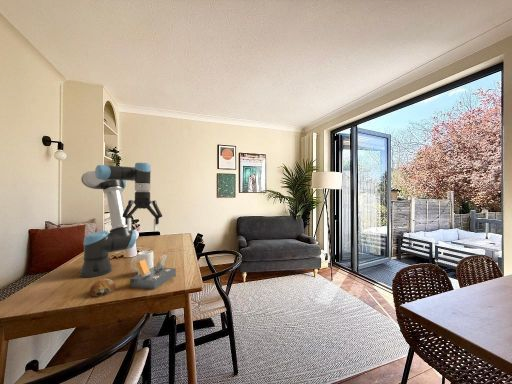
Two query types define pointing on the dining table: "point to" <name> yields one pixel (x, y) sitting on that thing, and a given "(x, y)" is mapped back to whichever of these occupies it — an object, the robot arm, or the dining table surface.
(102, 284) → the bread roll
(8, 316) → the dining table surface
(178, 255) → the dining table surface
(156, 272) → the panel
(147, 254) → the mug
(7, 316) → the dining table surface
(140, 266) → the orange and white block
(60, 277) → the dining table surface
